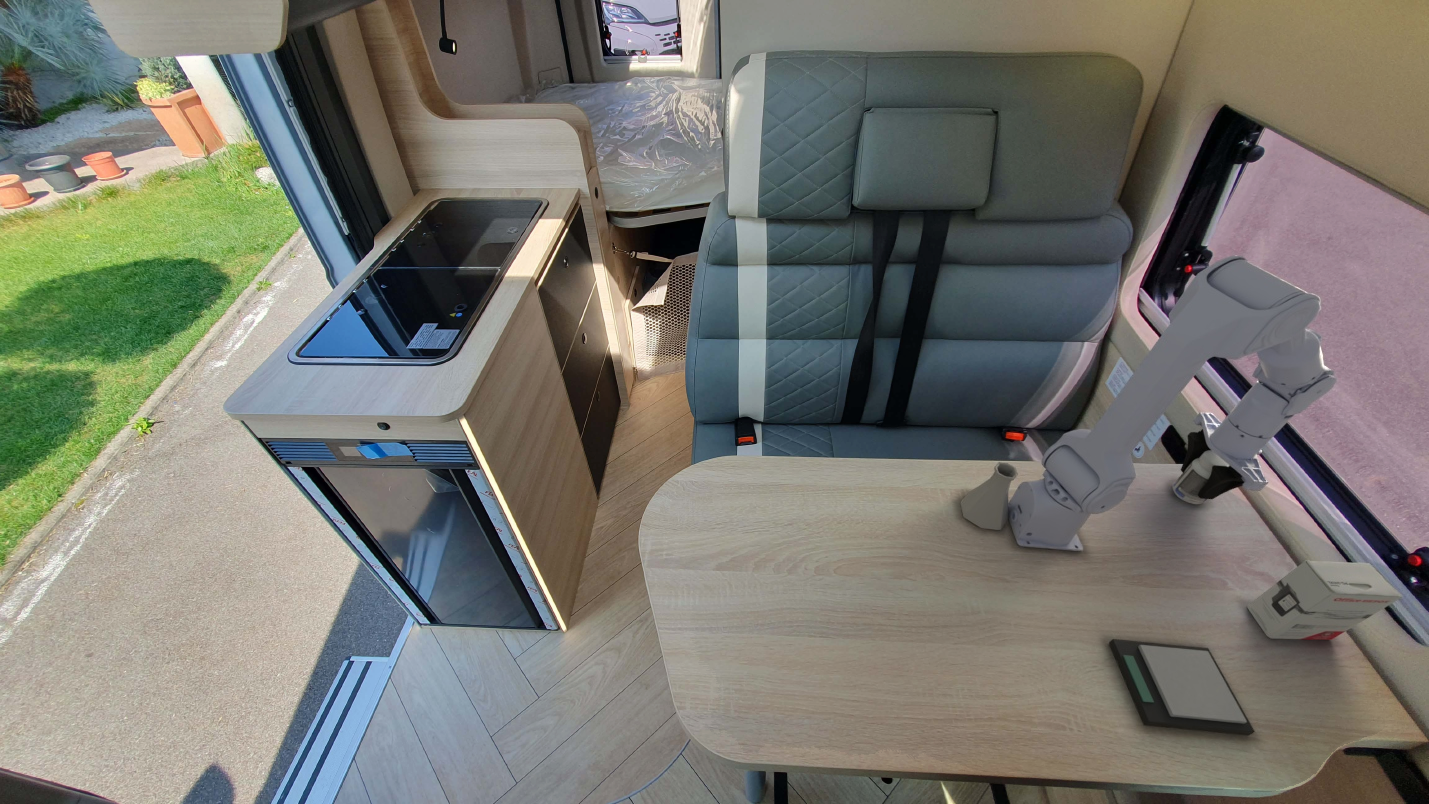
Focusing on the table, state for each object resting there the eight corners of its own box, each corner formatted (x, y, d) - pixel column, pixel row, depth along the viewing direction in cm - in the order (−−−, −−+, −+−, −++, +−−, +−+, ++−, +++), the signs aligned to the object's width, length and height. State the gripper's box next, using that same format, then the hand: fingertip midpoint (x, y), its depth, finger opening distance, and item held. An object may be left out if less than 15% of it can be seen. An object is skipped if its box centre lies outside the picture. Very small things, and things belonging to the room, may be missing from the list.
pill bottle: (1209, 507, 93) (1242, 473, 87) (1177, 502, 94) (1208, 467, 88) (1197, 485, 96) (1228, 450, 91) (1166, 480, 97) (1196, 445, 91)
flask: (1009, 503, 92) (1034, 462, 86) (1005, 537, 88) (1031, 496, 81) (962, 487, 95) (983, 445, 88) (956, 520, 90) (977, 478, 83)
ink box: (1306, 607, 80) (1373, 560, 72) (1333, 642, 77) (1407, 596, 69) (1244, 605, 80) (1304, 557, 72) (1268, 639, 77) (1334, 593, 69)
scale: (1143, 725, 68) (1151, 719, 67) (1108, 642, 76) (1115, 636, 75) (1248, 735, 68) (1258, 730, 67) (1202, 651, 75) (1211, 645, 74)
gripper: (1313, 463, 79) (1249, 523, 88) (1249, 393, 89) (1198, 453, 99) (1259, 459, 79) (1201, 519, 88) (1202, 390, 90) (1155, 450, 99)
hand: (1196, 484), depth 93 cm, fingers closed on pill bottle, 5 cm apart
